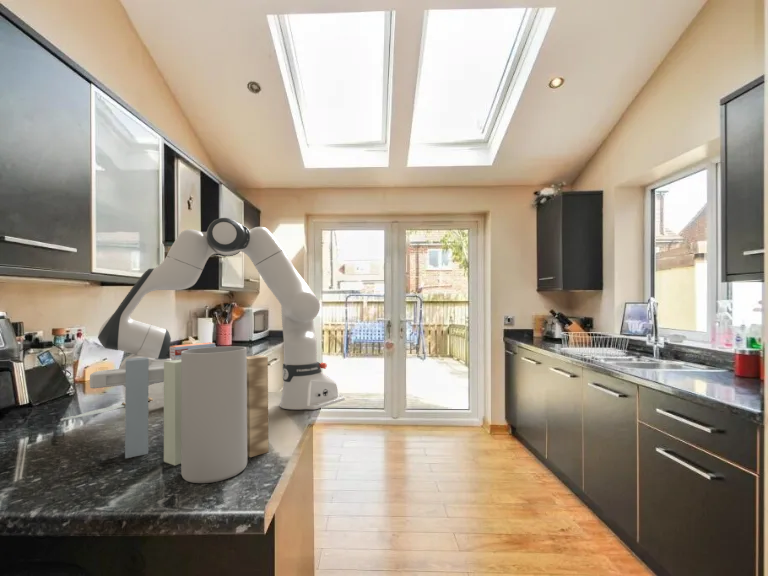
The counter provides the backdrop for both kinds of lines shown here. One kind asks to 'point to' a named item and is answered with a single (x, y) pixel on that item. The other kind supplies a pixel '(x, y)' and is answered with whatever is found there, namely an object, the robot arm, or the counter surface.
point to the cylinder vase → (213, 413)
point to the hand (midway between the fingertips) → (137, 379)
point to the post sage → (172, 412)
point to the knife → (103, 410)
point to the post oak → (257, 405)
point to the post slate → (136, 407)
